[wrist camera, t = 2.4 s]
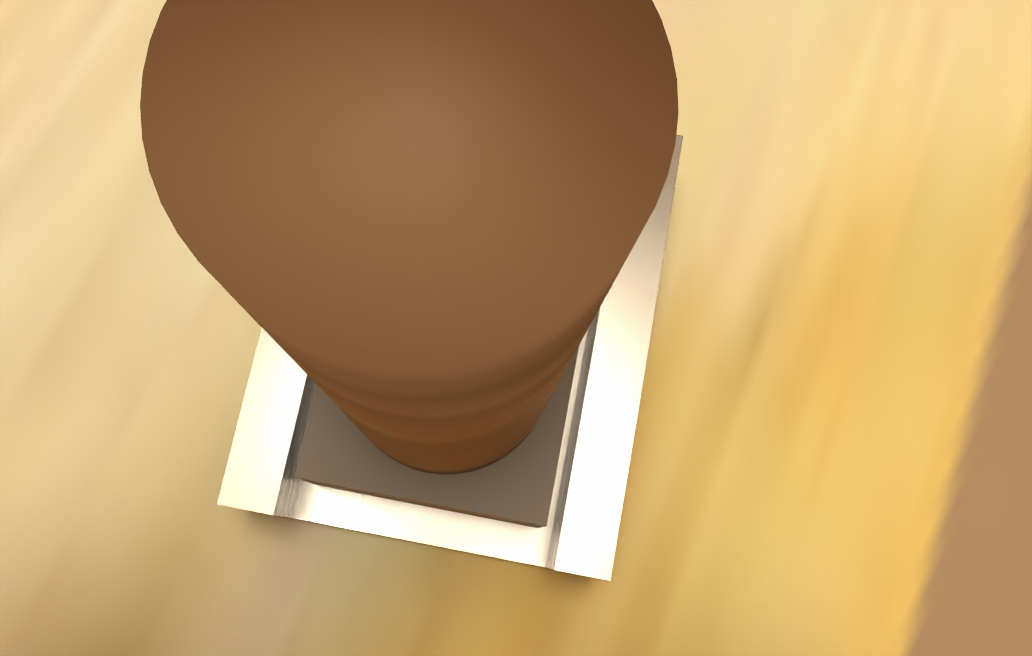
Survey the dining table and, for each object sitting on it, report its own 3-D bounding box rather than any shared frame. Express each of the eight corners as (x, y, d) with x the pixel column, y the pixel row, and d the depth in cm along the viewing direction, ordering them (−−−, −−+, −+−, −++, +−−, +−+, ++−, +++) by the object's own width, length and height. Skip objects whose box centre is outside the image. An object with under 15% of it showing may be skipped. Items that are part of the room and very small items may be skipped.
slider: (537, 528, 19) (682, 494, 6) (314, 484, 19) (-13, 358, 6) (588, 247, 20) (797, -274, 7) (380, 206, 20) (222, -387, 7)
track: (593, 576, 19) (610, 581, 17) (246, 508, 19) (217, 504, 17) (660, 178, 21) (683, 135, 19) (342, 116, 21) (328, 65, 19)
